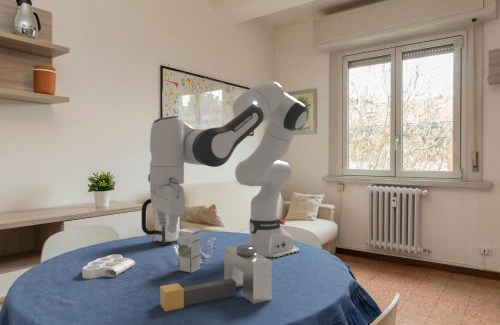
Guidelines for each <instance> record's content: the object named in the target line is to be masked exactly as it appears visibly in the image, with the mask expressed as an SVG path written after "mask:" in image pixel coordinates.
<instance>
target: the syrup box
mask: <svg viewBox="0 0 500 325" xmlns="http://www.w3.org/2000/svg"><path fill="white" fill-rule="evenodd" d="M177 243H178V247H177V248H178V249H177V250H178V251H177V253H178V255H177V256H178V257H177V258H178V264H177V265H178V267H177V268H178V269H177V270H178V271H179V272H185V273H190V274H192V273H195V272H196V271H198V270H200V269H201V229H200V228H193V227H184V228H181V230H178V240H177Z"/></svg>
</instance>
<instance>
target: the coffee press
mask: <svg viewBox="0 0 500 325" xmlns="http://www.w3.org/2000/svg"><path fill="white" fill-rule="evenodd" d="M149 204H152V203H151V198H148V199H145V201H144V202H143V204H142V206H141V229H142V231H143V233H145V234H147V235H153V237H152V239H151V242H152V243H155V242H156V241H157V242H161V243H160V245H161V247H165V246H166V244H167V243H168V242H169V243H170V242H174V241H178V230H181V229H182V217H178V221H177V225H176V232H175V233H170V232H168V225H169V219H168V215H166V214H165V219H166V225H165V226H160V225H159V224H158V215H157V209H156V208H154V207H153V230H149V229H148V228H147V207H148V206H149ZM154 239H155V240H154Z"/></svg>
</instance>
